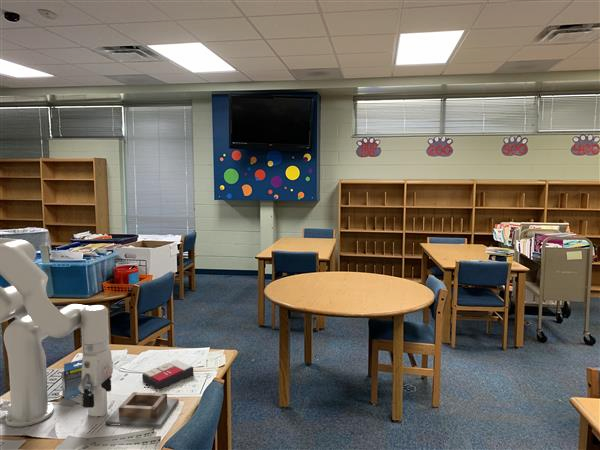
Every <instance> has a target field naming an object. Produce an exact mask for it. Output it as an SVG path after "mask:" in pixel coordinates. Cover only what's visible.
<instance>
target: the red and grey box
mask: <svg viewBox="0 0 600 450" xmlns="http://www.w3.org/2000/svg"><path fill="white" fill-rule="evenodd" d="M141 375H142V382H143V383H144V384H146V385H149V386H150V387H153V388H154V389H156V390H158V391H160V390H163V389H166V388H167V387H171V386H172V385H174V384H175V385H176V383H178V382H181V381H183V380H187V379H189V378H192V377H193V376H194V366H192V365H190V364H188V363H185V362H182V361H181V360H178V359H174V360H172V361H170V362H166V363H164V364H161V365H159V366H156V367H154V368H152V369H150V370H147V371H144V372H143V373H142V374H141Z"/></svg>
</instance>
